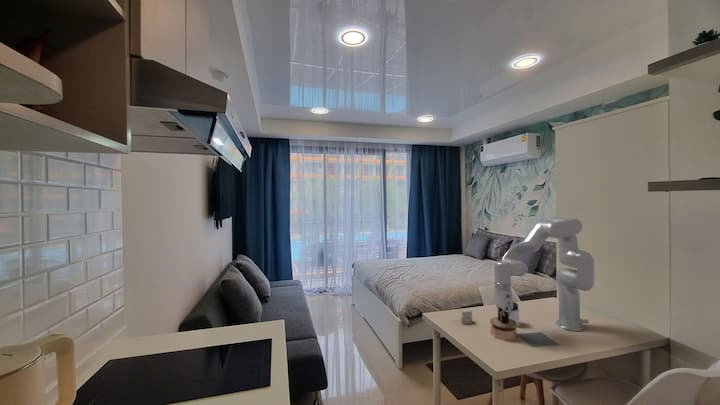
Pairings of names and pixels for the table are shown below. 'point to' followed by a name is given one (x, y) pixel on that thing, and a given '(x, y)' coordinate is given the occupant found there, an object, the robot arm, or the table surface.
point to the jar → (515, 314)
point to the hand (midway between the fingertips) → (503, 321)
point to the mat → (537, 339)
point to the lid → (499, 323)
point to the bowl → (503, 333)
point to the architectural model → (466, 317)
